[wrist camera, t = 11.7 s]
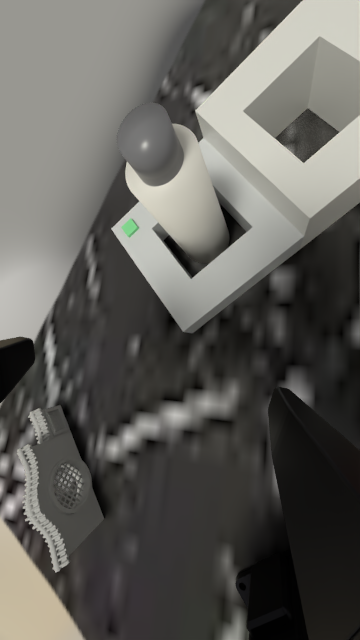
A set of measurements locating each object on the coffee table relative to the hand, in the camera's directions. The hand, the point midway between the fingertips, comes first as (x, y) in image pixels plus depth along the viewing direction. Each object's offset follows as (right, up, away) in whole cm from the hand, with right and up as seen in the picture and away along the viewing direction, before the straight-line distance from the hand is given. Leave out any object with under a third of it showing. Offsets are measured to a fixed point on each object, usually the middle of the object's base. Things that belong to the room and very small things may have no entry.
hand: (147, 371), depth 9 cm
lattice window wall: (-9, -12, +16) cm, 22 cm away
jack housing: (+7, +12, +12) cm, 19 cm away
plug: (+4, +9, +13) cm, 16 cm away
